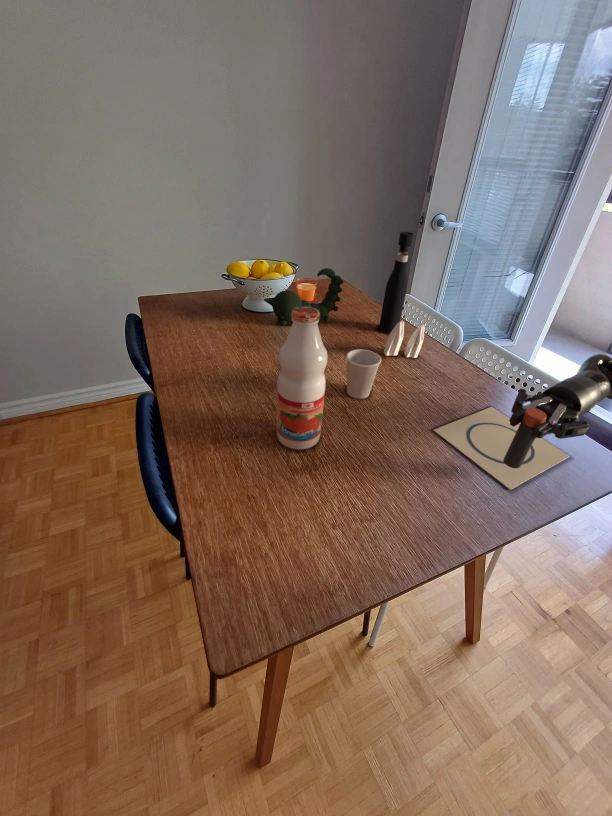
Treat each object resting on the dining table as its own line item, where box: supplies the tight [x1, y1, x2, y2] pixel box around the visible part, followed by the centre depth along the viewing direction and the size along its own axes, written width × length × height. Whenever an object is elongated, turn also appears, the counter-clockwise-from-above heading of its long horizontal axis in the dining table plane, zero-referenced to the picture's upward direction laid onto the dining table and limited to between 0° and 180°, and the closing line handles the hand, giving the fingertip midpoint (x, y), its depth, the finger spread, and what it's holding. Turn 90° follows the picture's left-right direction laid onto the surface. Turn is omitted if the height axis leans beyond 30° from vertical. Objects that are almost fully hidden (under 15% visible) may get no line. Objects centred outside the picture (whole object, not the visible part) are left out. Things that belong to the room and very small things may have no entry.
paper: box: [432, 406, 570, 491], centre depth 86 cm, size 20×20×1 cm
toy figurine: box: [263, 267, 344, 327], centre depth 127 cm, size 9×19×25 cm
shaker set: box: [383, 320, 425, 359], centre depth 114 cm, size 12×4×11 cm, turn 103°
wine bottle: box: [378, 231, 414, 335], centre depth 123 cm, size 6×6×30 cm
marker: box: [503, 408, 547, 468], centre depth 73 cm, size 3×3×12 cm
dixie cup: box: [345, 348, 382, 400], centre depth 97 cm, size 8×8×10 cm
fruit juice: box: [275, 306, 329, 450], centre depth 76 cm, size 9×9×28 cm
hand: (523, 427), depth 70 cm, fingers closed on marker, 3 cm apart
